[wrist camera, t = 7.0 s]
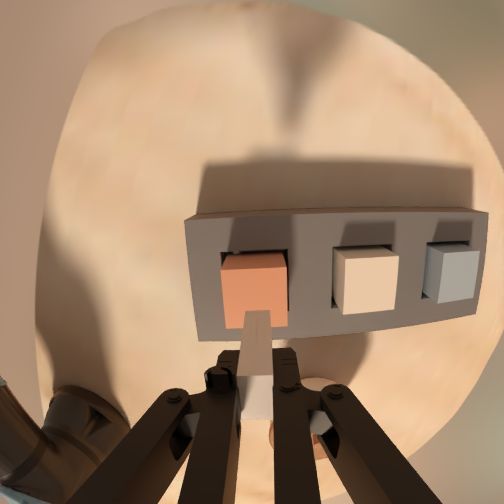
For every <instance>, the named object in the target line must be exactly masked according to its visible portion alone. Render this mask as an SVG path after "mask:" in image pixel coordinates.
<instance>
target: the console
mask: <svg viewBox="0 0 504 504" xmlns="http://www.w3.org/2000/svg"><path fill="white" fill-rule="evenodd" d="M488 214H489V213H487V212H482V211H477V210H472V209H467V208H450V207H346V208H308V209H282V210H260V211H241V212H224V213H208V214H196V215H194V216H192V217H190V218H188V219H186V220H184V224H185V235H186V245H187V255H188V264H189V273H190V281H191V290H192V298H193V305H194V313H195V320H196V327H197V334H198V341H241V339H242V332H243V328H234V329H226V324H225V314H224V303H223V293H222V282H221V268H222V266H223V263H224V261H225V259H226V256H227V255H228V254H249V253H271V252H282V254H283V257H284V260H285V264H286V267H287V318H288V326H284V327H271V338H272V340H276V339H294V338H308V337H321V336H332V335H343V334H352V333H361V332H370V331H378V330H386V329H393V328H400V327H407V326H413V325H419V324H425V323H431V322H437V321H443V320H448V319H453V318H458V317H463V316H468V315H473V314H476V310H477V305H478V300H479V294H480V289H481V283H482V276H483V270H484V262H485V253H486V244H487V232H488ZM445 241H456V242H459V243H461V244H464V245H466V246H469V247H472V248H474V249H477V250H479V251H480V253H479V262H478V270H477V277H476V283H475V290H474V295H473V298H469V299H463V300H457V301H451V302H444V303H438V304H437V303H436V302H435V301H434V300H432V299H431V298H430V297H428V296H427V295H426V294H424V293H423V292H422V287H423V279H424V269H425V258H426V244H427V242H445ZM358 245H381V246H383V247H384V248H386V249H388V250H390V251H391V252H393V253H395V254H396V255H398V256H399V264H398V276H397V287H396V297H395V306H394V309H393V310H384V311H375V312H366V313H356V314H345V315H343V314H342V312H341V310H340V309H339V307H338V305H337V304H336V302H335V300H334V299H333V297H332V247H336V246H358Z"/></svg>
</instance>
